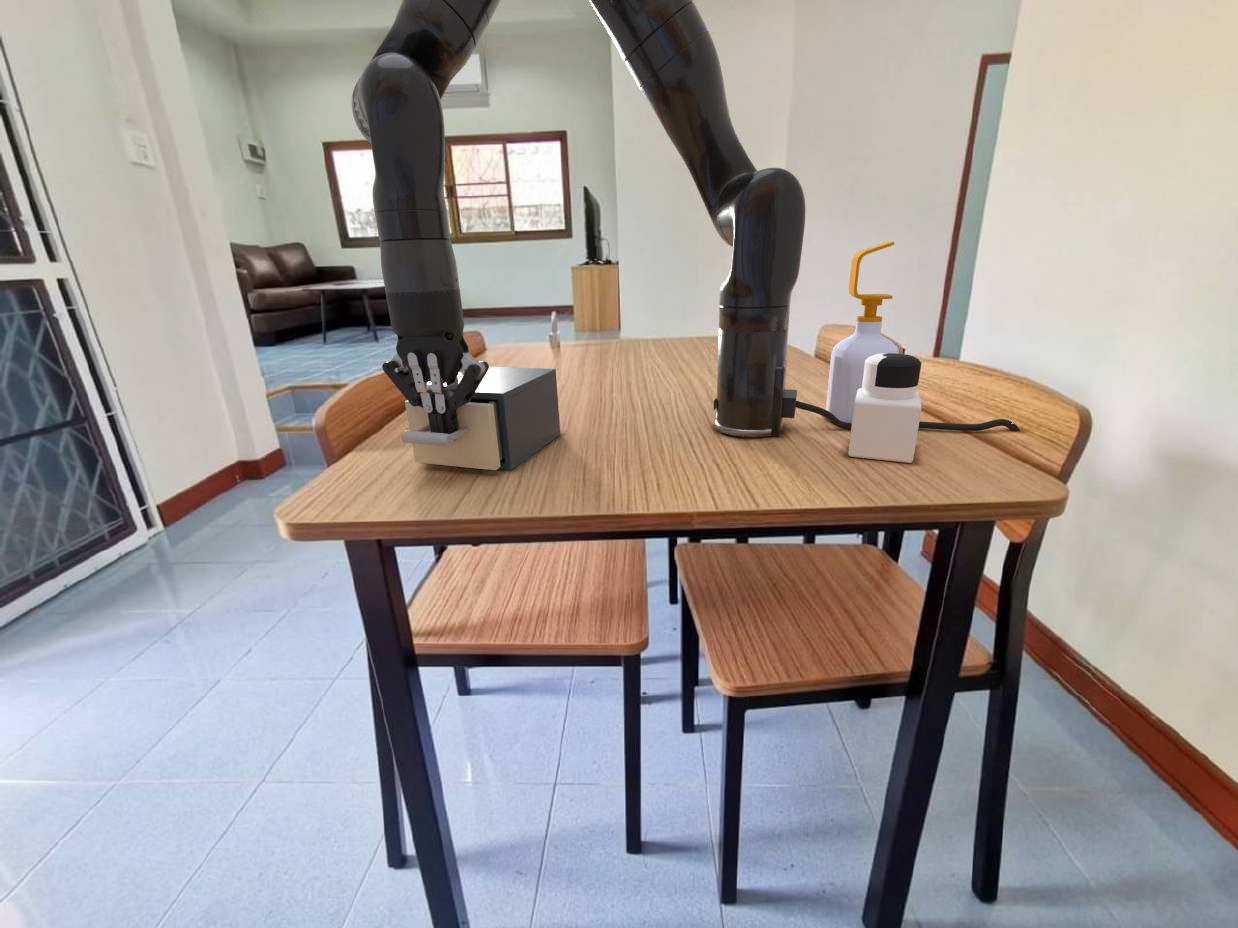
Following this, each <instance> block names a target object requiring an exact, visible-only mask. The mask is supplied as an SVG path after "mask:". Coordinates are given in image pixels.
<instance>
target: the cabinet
mask: <svg viewBox="0 0 1238 928" xmlns="http://www.w3.org/2000/svg"><path fill="white" fill-rule="evenodd" d="M462 377H463V375H462V374H461V371H460V372H459V374H458V383H459V382H460V380H461V379H462ZM557 380H558V379H557V369H556V368H543V367H542V368H541V367H540V368H538V367H512V366H511V367H510V366H489V369H488V371H487V373H486V375H485V376H484V378H483V380H482V381H481V383H480V385H479V387H478V388H477V390H476V392H475V393H474V395H473V397H472V398H474V399H492V400H498V404H499V413H500V422H501V431H502V440H503V448H504V457H505V458H503V459H502V460H500V466H501V467H500V468H498V469H497V470H503V471H504V470H505V471H512V470H514V469H515V468H517V467H518V466H519V465H521V464H522V463H523V462H526V460H527V459H529V458H531V457H532V456H533V455H535V454H536V453H538V452H539V451H540V450H542V449H543V448H544V447H546V446H547V445H548V444H549V443H551V442H552V441H554V440H555V439H557V438H558V437H559V436H561V423H560V421H561V420H560V409H559V396H558V394H559V393H558V381H557ZM414 392H415V391H414Z"/></svg>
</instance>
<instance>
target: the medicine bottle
mask: <svg viewBox="0 0 1238 928" xmlns="http://www.w3.org/2000/svg"><path fill="white" fill-rule="evenodd" d="M921 369H922V361H921V359H919V358H917V357H916V356H913V355H911V354H905V353H899V354H896V353H883V354H876V355H873V356H871V357H868V358H867V359H866V360H865V367H864V375H863V383H862V388H859V389H858V391H857V395H856V398H855V402H854V409H853V418H852V426H851V430H850V435H849V444H848V452H847V453H848V457H852V458H860V459H861V458H862V459H870V460H879V461H888V462H898V463H907V464H912V463H913V462H914V459H915V458H914V457H915V451H916V447H917V438H918V434H919V428H918V427H919V421H921V415H922V410H923V409H922V408H923V406H922V400H921V393H920V392H919V391H918V388H919V382H920V377H921V376H920V374H921Z"/></svg>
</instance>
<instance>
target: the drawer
mask: <svg viewBox="0 0 1238 928" xmlns="http://www.w3.org/2000/svg"><path fill="white" fill-rule="evenodd" d="M404 407H405V412H406V417H407V423H408V429H409V430H403V432H402V433H401V441H402V443H404V444H405V443H406V444H411V445H412V451H413V457H414V463H419V464H429V465H439V466H448V467H458V468H468V469H479V470H489V471H497V470H499V469H498V468H500V467H501V466H500V460H502V459H503V458H505V457H504V448H503V440H502V431H501V422H500V413H499V404H498V400H492V399H474V398H471V400H470V402H469V403H467V404H465V405H463V406H460V407H458V408H457V409H456V416H457V423H458V431H456V432H454V433H452V434H445V433H433V432H431V431H430V425H429V418H428V413H427V412H426V411H425V410H424V408H422V407H420V406H416V407H414V406H412V405H411V404H410V403H409V402H408V400H407V399H406V400H405V401H404ZM455 439H456V440H455ZM454 440H455V441H454Z"/></svg>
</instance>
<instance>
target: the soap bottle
mask: <svg viewBox="0 0 1238 928" xmlns="http://www.w3.org/2000/svg"><path fill="white" fill-rule="evenodd" d="M894 245H895V241H886V242H882V243H880V244H877V245H874V246H871V247H868V248H865V249H862V250H859V251H857V252H856V253H855V254H854V255H853V256H852V259H851V264H850V271H849V279H848V280H849V281H848V294H849V295H850V296H851V297H853V298H855V299H857V300H860V306H864V308H863V314H862V315H857V316H856V322H855V329H854V332H853V333H852V334H851V335H849V336H847V337H845V338H844V339H841V340H840V341H839V342H838V343H837V344H835V345H834V347H833V349H832V351H831V354H830V364H829V373H828V384H827V392H826V403H825V410H827V411H829V412H830V413H832V414H833V415H834V416H835V417H836V418H837V419H839V420H840V421H843V422H847V423H852V418H853V409H854V402H855V398H856V395H857V391H858V389H859V388H862V383H863V375H864V367H865V360H866V359H867V358H868V357H871V356H873V355H876V354H883V353H896V354H900V351H899V348H898V346H897V345H896V344H895V343H894V342H893V341H892V340H891V339H889V338H887V337H885V335H883V334H882V324H883V316H880V315H877V313H878V312H877V310H878V306H882V305H883V300H892V299H893V295H891V294H890V293H889V294H888V293H858V282H859V272H860V265H861V262H862V260H863V258H864V257H865V256H867V255H869V254H872V253H874V252H878V251H880V250H883V249H886V248H890V247H892V246H894ZM828 421H829V422H831V421H830V420H828Z"/></svg>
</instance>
